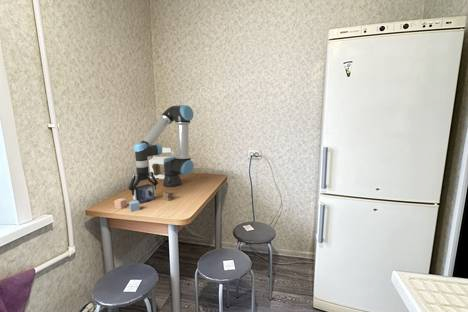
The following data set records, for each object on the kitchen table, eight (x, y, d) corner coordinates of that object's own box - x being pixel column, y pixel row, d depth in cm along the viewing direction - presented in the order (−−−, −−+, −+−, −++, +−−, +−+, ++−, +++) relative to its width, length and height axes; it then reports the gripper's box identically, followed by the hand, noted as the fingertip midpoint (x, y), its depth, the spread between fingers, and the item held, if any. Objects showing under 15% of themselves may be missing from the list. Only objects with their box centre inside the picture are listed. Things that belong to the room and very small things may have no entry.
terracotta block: (120, 205, 161) (120, 198, 160) (127, 206, 159) (126, 198, 158) (114, 208, 156) (114, 200, 155) (121, 209, 155) (120, 201, 154)
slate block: (138, 207, 156) (137, 200, 156) (139, 210, 152) (139, 202, 151) (129, 209, 154) (129, 201, 153) (131, 212, 150) (130, 204, 149)
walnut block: (169, 197, 173) (168, 191, 173) (173, 199, 171) (173, 192, 170) (163, 200, 169) (162, 193, 168) (168, 201, 167) (167, 194, 166)
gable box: (178, 175, 236) (176, 146, 232) (172, 179, 224) (170, 148, 219) (156, 175, 240) (154, 146, 235) (150, 178, 227) (147, 148, 222)
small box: (140, 204, 162) (139, 188, 160) (135, 202, 166) (134, 187, 165) (154, 199, 170) (153, 185, 168) (149, 197, 174) (148, 183, 173)
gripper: (156, 163, 176) (158, 191, 179) (121, 168, 158) (123, 200, 161) (162, 164, 170) (163, 193, 174) (125, 170, 153) (128, 203, 156)
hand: (144, 197), depth 168 cm, fingers open, 13 cm apart
